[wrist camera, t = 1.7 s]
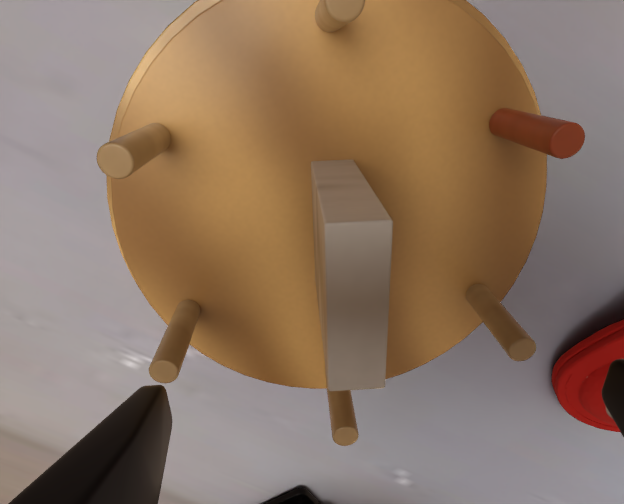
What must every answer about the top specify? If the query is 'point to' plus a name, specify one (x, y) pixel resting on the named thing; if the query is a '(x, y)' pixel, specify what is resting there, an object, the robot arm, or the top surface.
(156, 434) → the robot arm
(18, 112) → the top surface
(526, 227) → the drying rack
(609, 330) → the tracker holder
